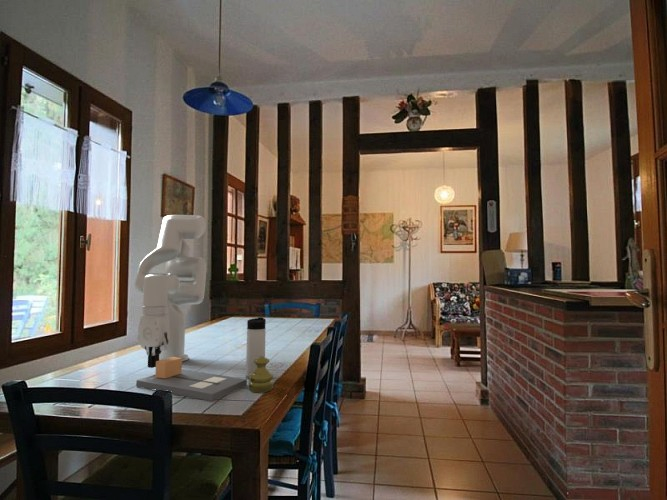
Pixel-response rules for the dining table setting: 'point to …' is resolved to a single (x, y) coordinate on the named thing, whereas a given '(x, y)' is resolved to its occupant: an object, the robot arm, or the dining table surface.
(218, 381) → the fader console
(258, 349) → the travel mug
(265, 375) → the olive metallic turned piece
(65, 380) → the dining table surface
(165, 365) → the fader knob
